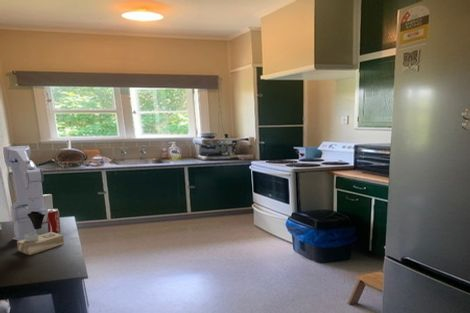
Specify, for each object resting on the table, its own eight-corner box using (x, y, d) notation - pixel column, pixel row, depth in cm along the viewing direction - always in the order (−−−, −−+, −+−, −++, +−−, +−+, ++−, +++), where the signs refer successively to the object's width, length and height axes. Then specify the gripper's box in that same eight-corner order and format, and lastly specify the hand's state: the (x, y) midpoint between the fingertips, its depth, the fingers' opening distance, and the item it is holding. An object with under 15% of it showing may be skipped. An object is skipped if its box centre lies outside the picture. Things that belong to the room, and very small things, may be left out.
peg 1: (25, 243, 131) (24, 234, 131) (34, 240, 134) (33, 231, 134) (29, 245, 129) (28, 235, 129) (38, 242, 132) (37, 233, 132)
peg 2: (43, 244, 137) (42, 235, 137) (51, 242, 140) (50, 233, 140) (47, 246, 135) (46, 237, 135) (55, 243, 138) (55, 234, 138)
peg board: (17, 250, 132) (16, 241, 131) (51, 240, 143) (51, 231, 143) (29, 255, 126) (28, 245, 126) (63, 243, 138) (63, 235, 138)
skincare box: (41, 223, 173) (38, 197, 171) (33, 222, 175) (31, 196, 174) (54, 219, 180) (52, 193, 179) (47, 218, 183) (45, 193, 181)
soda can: (55, 235, 150) (52, 211, 149) (45, 235, 151) (43, 211, 150) (63, 232, 155) (61, 208, 154) (54, 231, 156) (52, 208, 155)
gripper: (16, 198, 133) (19, 229, 134) (33, 201, 125) (36, 233, 126) (34, 194, 139) (36, 224, 140) (51, 197, 131) (54, 228, 132)
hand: (38, 228), depth 134 cm, fingers closed
